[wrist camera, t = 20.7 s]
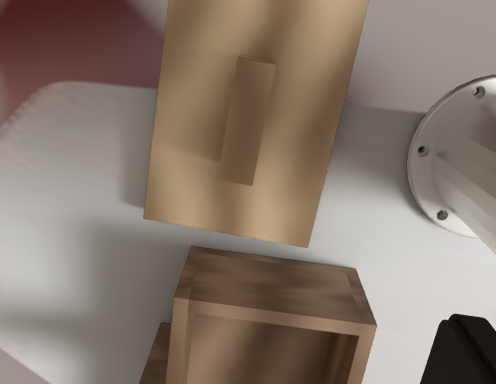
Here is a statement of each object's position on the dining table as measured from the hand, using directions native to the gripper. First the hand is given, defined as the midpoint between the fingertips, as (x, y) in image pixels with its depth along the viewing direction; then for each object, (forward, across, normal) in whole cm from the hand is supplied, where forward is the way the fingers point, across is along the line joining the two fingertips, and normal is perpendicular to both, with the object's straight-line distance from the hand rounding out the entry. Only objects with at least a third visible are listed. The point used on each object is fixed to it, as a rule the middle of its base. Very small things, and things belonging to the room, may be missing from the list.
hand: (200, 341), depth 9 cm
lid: (+28, 0, 0) cm, 28 cm away
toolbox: (+28, -4, +22) cm, 36 cm away
